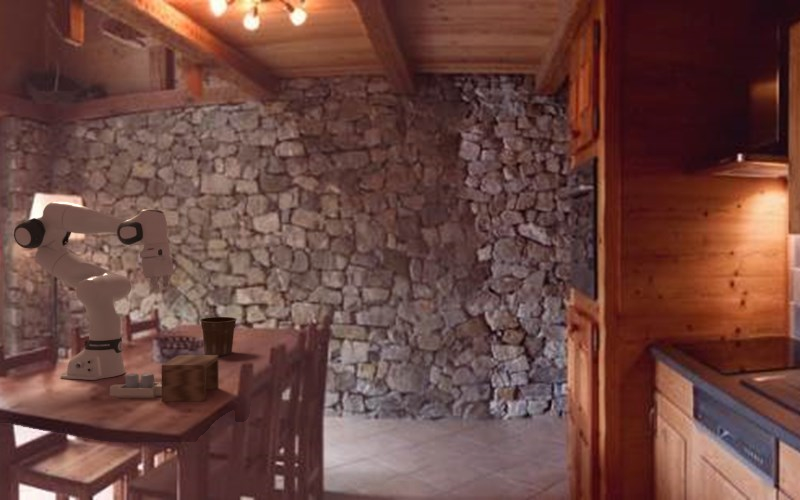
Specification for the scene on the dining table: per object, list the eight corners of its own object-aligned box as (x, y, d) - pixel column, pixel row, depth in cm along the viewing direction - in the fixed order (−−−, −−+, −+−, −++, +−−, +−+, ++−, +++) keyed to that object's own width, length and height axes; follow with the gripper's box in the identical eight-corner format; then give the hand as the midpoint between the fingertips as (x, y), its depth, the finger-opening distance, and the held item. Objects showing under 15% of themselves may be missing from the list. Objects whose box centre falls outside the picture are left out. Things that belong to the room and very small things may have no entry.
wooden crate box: (161, 401, 188) (161, 365, 187) (179, 388, 204) (178, 355, 203) (204, 401, 188) (204, 365, 188) (218, 388, 204) (218, 355, 204)
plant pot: (244, 352, 266) (244, 318, 266) (216, 359, 252) (216, 322, 252) (220, 349, 275) (220, 315, 274) (192, 354, 261) (192, 319, 261)
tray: (106, 398, 191) (106, 378, 191) (117, 391, 199) (117, 372, 199) (163, 397, 192) (163, 377, 191) (172, 391, 200) (172, 372, 199)
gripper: (159, 251, 224) (163, 286, 224) (137, 253, 203) (141, 291, 204) (175, 250, 224) (179, 285, 224) (155, 251, 204) (159, 290, 204)
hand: (161, 288), depth 214 cm, fingers open, 8 cm apart
